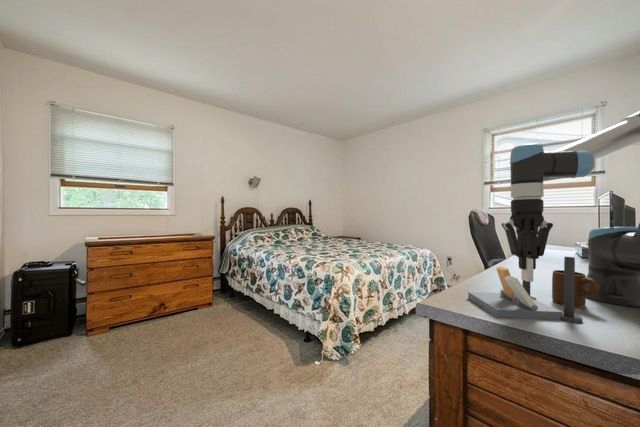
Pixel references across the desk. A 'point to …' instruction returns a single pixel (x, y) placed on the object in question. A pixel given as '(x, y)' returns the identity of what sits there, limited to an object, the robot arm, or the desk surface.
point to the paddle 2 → (521, 293)
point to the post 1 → (527, 287)
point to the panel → (512, 306)
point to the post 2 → (569, 291)
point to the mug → (579, 288)
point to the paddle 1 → (507, 289)
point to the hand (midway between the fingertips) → (527, 280)
